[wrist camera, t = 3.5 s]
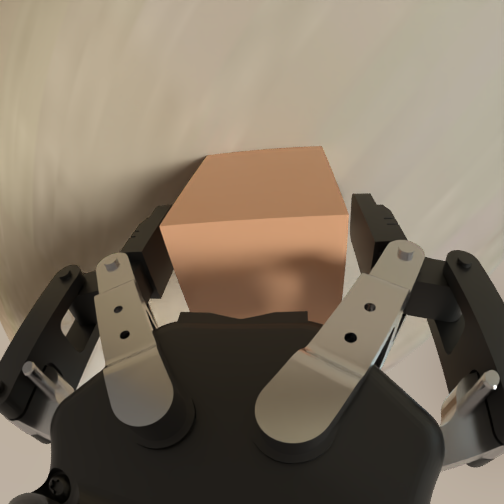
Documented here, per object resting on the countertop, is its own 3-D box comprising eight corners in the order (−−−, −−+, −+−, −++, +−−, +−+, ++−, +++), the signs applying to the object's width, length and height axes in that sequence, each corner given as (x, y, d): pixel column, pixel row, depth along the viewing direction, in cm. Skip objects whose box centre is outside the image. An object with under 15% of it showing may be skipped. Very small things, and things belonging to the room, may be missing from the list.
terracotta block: (321, 145, 12) (348, 214, 7) (323, 241, 15) (336, 338, 10) (207, 155, 13) (159, 226, 8) (226, 246, 16) (201, 339, 11)
